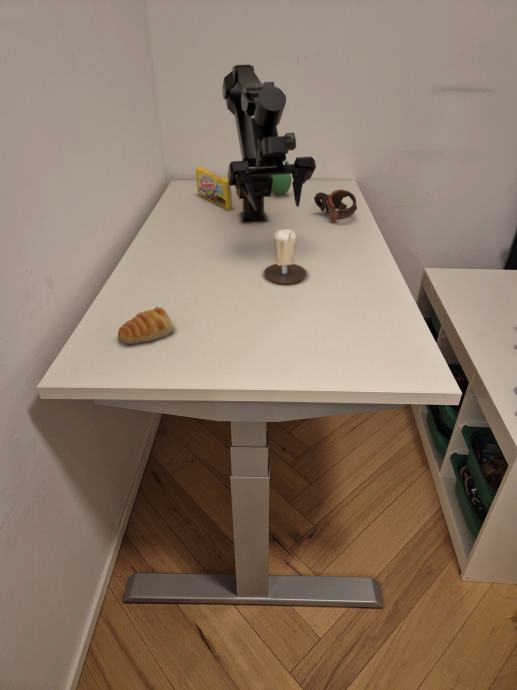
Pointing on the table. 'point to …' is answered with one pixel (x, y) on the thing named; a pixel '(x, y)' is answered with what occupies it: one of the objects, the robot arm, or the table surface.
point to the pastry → (146, 327)
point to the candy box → (214, 188)
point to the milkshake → (285, 250)
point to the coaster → (285, 275)
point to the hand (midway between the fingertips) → (277, 207)
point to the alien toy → (281, 182)
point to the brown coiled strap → (336, 204)
